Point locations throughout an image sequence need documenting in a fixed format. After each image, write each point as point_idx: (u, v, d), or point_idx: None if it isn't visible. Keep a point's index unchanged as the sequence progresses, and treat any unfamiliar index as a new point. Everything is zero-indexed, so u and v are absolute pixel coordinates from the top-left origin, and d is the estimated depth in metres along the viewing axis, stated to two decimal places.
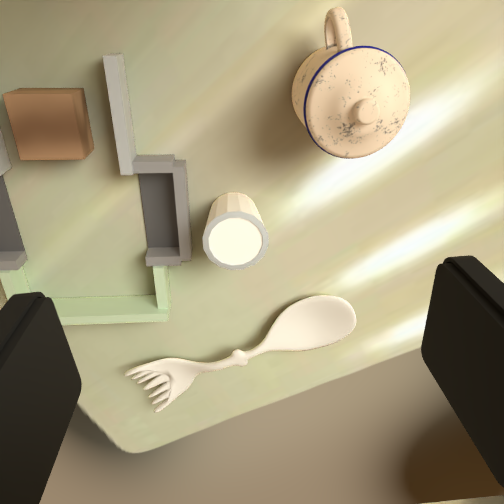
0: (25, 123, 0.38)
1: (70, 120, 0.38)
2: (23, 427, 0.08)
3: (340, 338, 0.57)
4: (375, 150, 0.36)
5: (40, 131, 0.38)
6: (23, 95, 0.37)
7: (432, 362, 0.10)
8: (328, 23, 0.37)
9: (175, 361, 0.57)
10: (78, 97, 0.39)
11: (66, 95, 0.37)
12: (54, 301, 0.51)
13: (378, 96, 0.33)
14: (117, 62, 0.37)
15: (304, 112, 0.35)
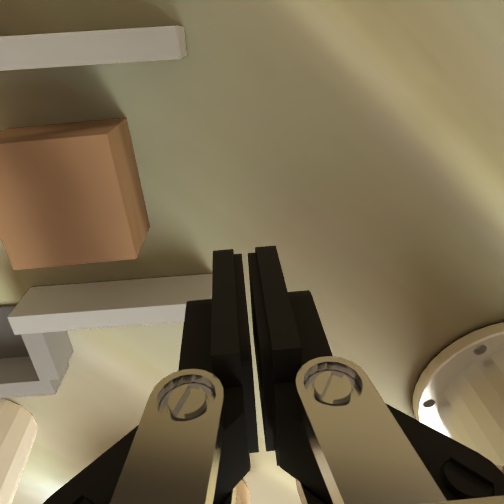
0: (54, 170, 0.18)
1: (85, 253, 0.20)
2: None
3: None
4: None
5: (47, 197, 0.18)
6: (114, 175, 0.18)
7: (254, 344, 0.11)
8: None
9: None
10: None
11: (132, 250, 0.20)
12: None
13: None
14: None
15: None
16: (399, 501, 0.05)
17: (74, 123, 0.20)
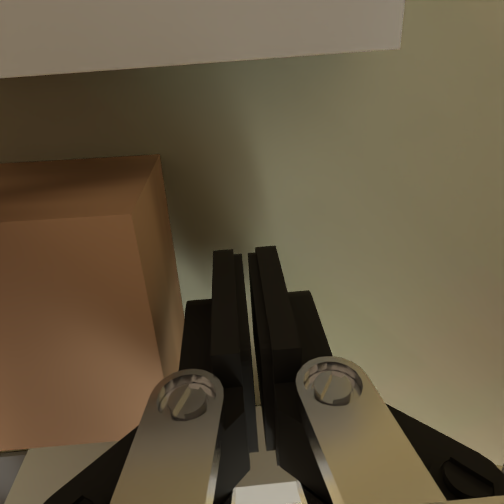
0: (7, 286, 0.08)
1: (73, 428, 0.10)
2: None
3: None
4: None
5: None
6: (141, 297, 0.08)
7: (254, 344, 0.11)
8: None
9: None
10: None
11: None
12: None
13: None
14: None
15: None
16: (399, 501, 0.05)
17: (56, 164, 0.10)
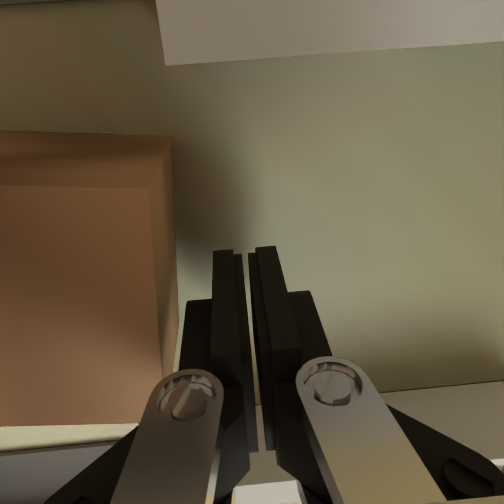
0: (10, 253, 0.08)
1: (61, 408, 0.10)
2: None
3: None
4: None
5: None
6: (148, 276, 0.08)
7: (254, 344, 0.11)
8: None
9: None
10: None
11: None
12: None
13: None
14: None
15: None
16: (399, 501, 0.05)
17: (64, 136, 0.10)
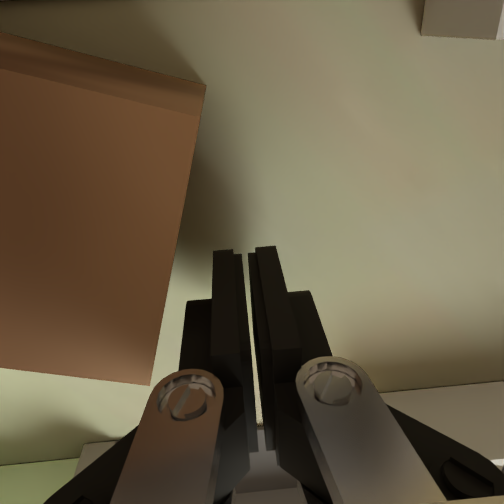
0: (27, 160, 0.07)
1: (39, 352, 0.09)
2: None
3: None
4: None
5: None
6: (174, 217, 0.07)
7: (254, 344, 0.11)
8: None
9: None
10: None
11: (146, 370, 0.09)
12: None
13: None
14: None
15: None
16: (399, 501, 0.05)
17: (94, 58, 0.09)
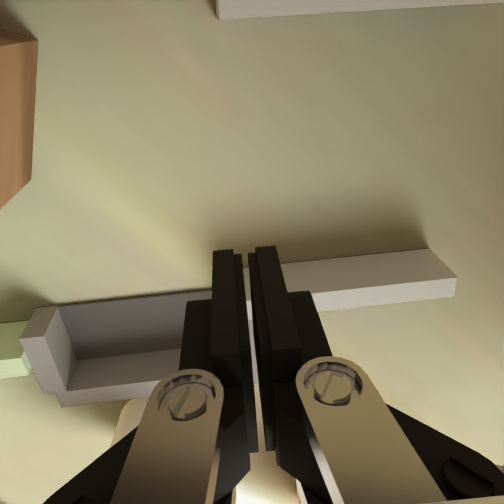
0: None
1: None
2: None
3: None
4: None
5: None
6: None
7: (254, 344, 0.11)
8: None
9: None
10: None
11: None
12: None
13: None
14: None
15: None
16: (399, 501, 0.05)
17: None
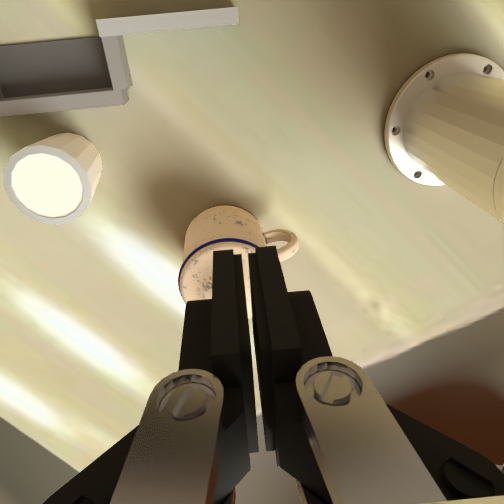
0: None
1: None
2: None
3: None
4: None
5: None
6: None
7: (254, 344, 0.11)
8: (282, 231, 0.42)
9: None
10: None
11: None
12: None
13: None
14: None
15: (216, 241, 0.36)
16: (399, 501, 0.05)
17: None
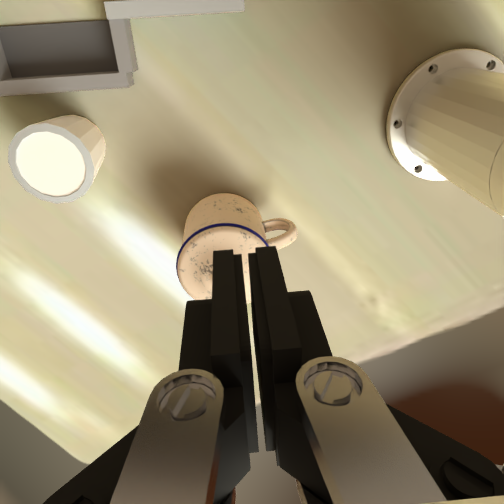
0: None
1: None
2: None
3: None
4: (188, 292, 0.39)
5: None
6: None
7: (254, 344, 0.11)
8: (281, 220, 0.42)
9: None
10: None
11: None
12: None
13: None
14: (237, 11, 0.33)
15: (215, 225, 0.36)
16: (399, 501, 0.05)
17: None
